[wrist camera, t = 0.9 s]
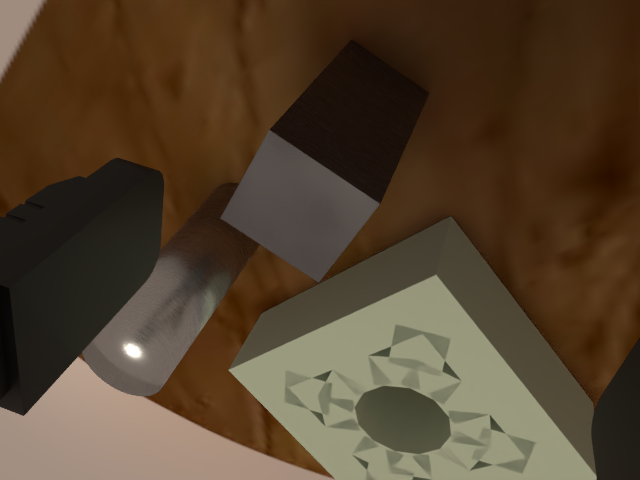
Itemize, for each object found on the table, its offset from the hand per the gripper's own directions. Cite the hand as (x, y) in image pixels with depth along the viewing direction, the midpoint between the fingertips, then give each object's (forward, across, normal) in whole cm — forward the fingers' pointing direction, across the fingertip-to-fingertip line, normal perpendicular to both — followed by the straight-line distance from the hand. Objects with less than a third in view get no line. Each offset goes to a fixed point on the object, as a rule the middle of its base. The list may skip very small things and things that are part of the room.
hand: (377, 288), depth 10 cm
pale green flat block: (+20, -3, +18) cm, 27 cm away
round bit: (+20, +9, +12) cm, 25 cm away
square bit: (+19, +3, +4) cm, 20 cm away
